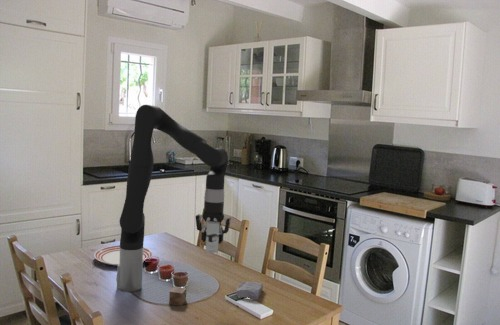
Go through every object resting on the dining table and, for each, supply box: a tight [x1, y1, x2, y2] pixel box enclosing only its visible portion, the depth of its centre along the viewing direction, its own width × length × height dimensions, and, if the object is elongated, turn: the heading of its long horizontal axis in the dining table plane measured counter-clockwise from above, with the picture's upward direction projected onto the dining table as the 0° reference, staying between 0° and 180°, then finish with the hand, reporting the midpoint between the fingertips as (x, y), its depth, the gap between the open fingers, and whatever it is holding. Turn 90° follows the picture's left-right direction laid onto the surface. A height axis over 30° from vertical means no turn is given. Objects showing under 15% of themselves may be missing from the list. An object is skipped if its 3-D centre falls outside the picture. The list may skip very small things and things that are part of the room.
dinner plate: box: [93, 244, 154, 267], centre depth 215 cm, size 28×27×3 cm
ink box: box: [205, 221, 219, 254], centre depth 172 cm, size 8×5×12 cm, turn 5°
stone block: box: [236, 281, 264, 301], centre depth 183 cm, size 12×5×10 cm
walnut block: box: [168, 286, 187, 307], centre depth 171 cm, size 5×5×5 cm
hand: (212, 242), depth 172 cm, fingers closed on ink box, 5 cm apart
